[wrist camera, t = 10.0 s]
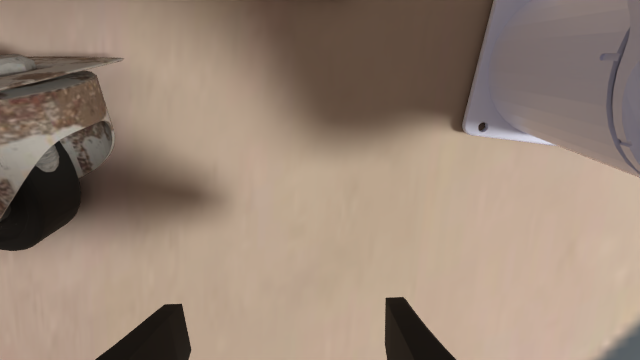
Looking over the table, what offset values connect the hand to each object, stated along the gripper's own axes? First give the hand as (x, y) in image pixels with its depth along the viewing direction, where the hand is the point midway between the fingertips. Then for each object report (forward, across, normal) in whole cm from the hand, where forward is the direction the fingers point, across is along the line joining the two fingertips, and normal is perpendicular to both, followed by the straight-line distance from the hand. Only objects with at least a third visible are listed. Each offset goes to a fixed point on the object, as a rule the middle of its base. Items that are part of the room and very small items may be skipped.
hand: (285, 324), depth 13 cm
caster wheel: (+10, +14, -5) cm, 18 cm away
